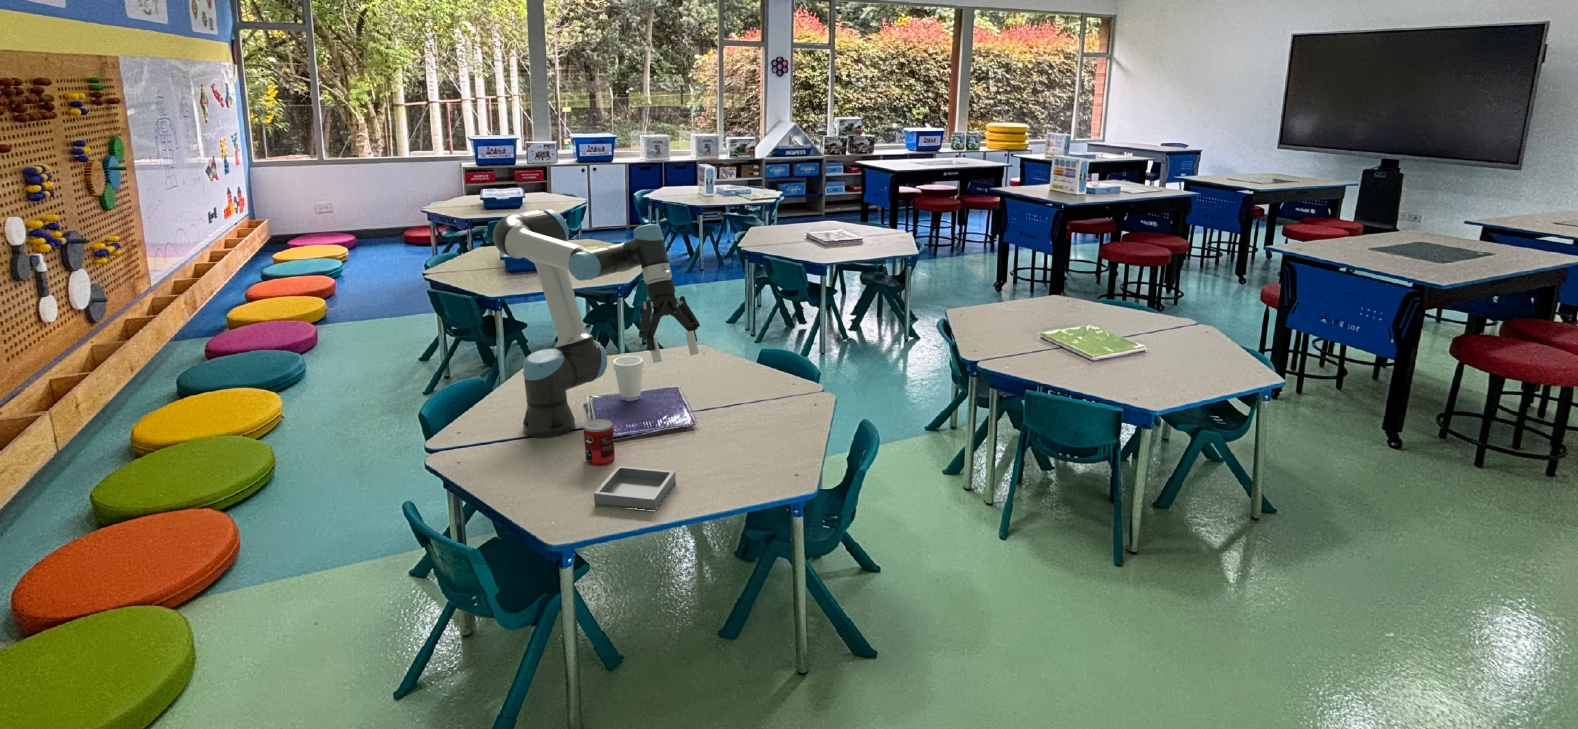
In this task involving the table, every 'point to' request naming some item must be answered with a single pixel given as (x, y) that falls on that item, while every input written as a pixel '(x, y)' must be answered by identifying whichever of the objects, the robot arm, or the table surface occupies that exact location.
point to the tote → (635, 488)
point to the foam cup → (629, 375)
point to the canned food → (599, 442)
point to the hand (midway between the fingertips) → (676, 358)
